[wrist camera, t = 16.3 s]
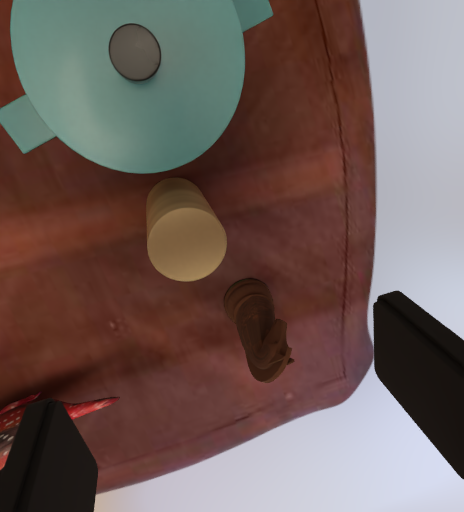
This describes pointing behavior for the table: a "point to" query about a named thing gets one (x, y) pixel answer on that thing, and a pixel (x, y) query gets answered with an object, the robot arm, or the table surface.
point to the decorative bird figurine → (6, 425)
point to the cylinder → (183, 231)
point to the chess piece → (258, 329)
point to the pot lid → (131, 76)
